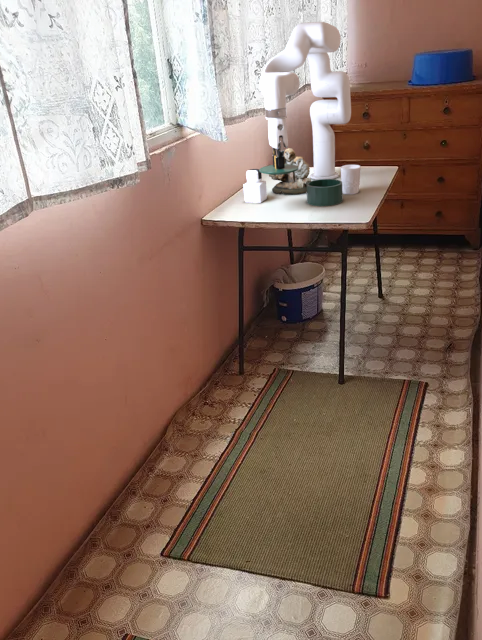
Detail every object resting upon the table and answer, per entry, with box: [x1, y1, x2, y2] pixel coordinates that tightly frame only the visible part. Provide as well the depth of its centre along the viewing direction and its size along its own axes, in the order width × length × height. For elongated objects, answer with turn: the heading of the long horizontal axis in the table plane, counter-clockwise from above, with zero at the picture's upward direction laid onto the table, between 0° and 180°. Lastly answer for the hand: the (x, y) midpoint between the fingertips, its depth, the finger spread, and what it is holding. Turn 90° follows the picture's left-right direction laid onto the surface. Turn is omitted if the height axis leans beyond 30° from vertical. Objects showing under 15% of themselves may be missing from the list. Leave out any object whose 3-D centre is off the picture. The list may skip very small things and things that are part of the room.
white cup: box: [340, 164, 362, 195], centre depth 243 cm, size 8×8×10 cm
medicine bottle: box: [242, 168, 268, 204], centre depth 241 cm, size 7×7×12 cm
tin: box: [306, 178, 344, 207], centre depth 234 cm, size 14×14×7 cm
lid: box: [258, 155, 299, 176], centre depth 223 cm, size 15×15×6 cm
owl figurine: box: [268, 147, 312, 196], centre depth 249 cm, size 18×12×17 cm, turn 77°
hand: (278, 167), depth 224 cm, fingers closed on lid, 3 cm apart
